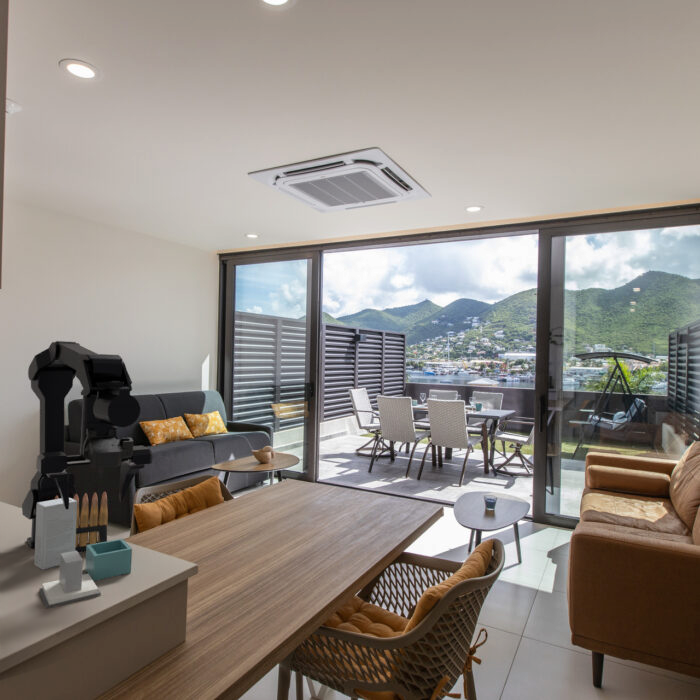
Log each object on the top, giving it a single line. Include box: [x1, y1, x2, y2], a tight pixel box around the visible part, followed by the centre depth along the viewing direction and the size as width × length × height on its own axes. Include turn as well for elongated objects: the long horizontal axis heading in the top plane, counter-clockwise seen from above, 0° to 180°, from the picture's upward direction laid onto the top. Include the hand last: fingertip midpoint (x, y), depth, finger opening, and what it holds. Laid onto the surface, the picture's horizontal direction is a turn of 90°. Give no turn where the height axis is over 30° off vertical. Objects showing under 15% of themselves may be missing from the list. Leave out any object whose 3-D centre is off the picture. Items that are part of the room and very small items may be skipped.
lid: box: [41, 551, 99, 605], centre depth 86 cm, size 7×7×6 cm
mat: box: [38, 587, 102, 609], centre depth 86 cm, size 8×8×1 cm
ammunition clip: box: [54, 491, 109, 554], centre depth 104 cm, size 11×2×12 cm, turn 120°
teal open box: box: [84, 538, 133, 582], centre depth 95 cm, size 6×6×4 cm
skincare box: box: [34, 498, 77, 571], centre depth 98 cm, size 6×4×12 cm
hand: (94, 505), depth 93 cm, fingers open, 9 cm apart
